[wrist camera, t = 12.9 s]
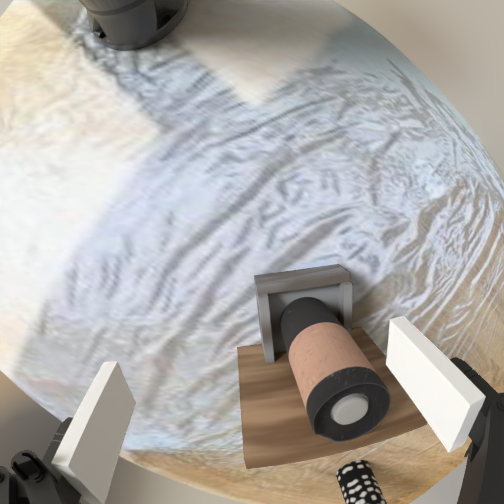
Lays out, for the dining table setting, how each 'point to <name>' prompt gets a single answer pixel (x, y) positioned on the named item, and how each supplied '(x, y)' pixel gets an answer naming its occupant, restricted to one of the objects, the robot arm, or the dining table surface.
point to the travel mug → (332, 373)
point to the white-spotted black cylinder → (359, 484)
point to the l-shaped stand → (284, 383)
